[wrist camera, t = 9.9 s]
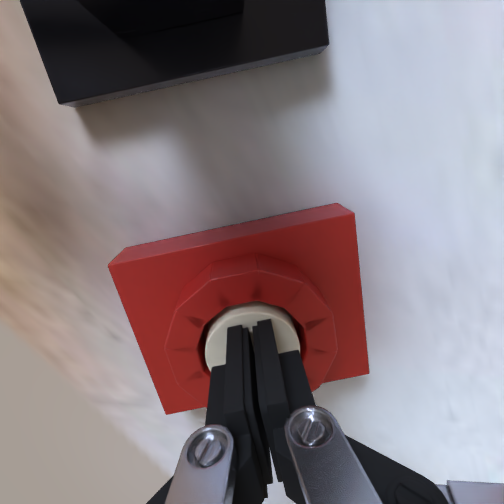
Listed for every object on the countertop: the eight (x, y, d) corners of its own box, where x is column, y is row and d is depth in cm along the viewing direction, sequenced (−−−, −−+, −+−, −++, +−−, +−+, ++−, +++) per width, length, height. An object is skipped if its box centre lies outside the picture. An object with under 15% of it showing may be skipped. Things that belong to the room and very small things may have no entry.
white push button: (219, 370, 14) (217, 400, 12) (198, 300, 13) (193, 323, 11) (298, 353, 14) (306, 382, 12) (285, 282, 13) (292, 303, 11)
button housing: (173, 382, 17) (156, 450, 13) (124, 247, 14) (86, 284, 11) (353, 345, 17) (387, 404, 13) (337, 202, 14) (374, 224, 11)
